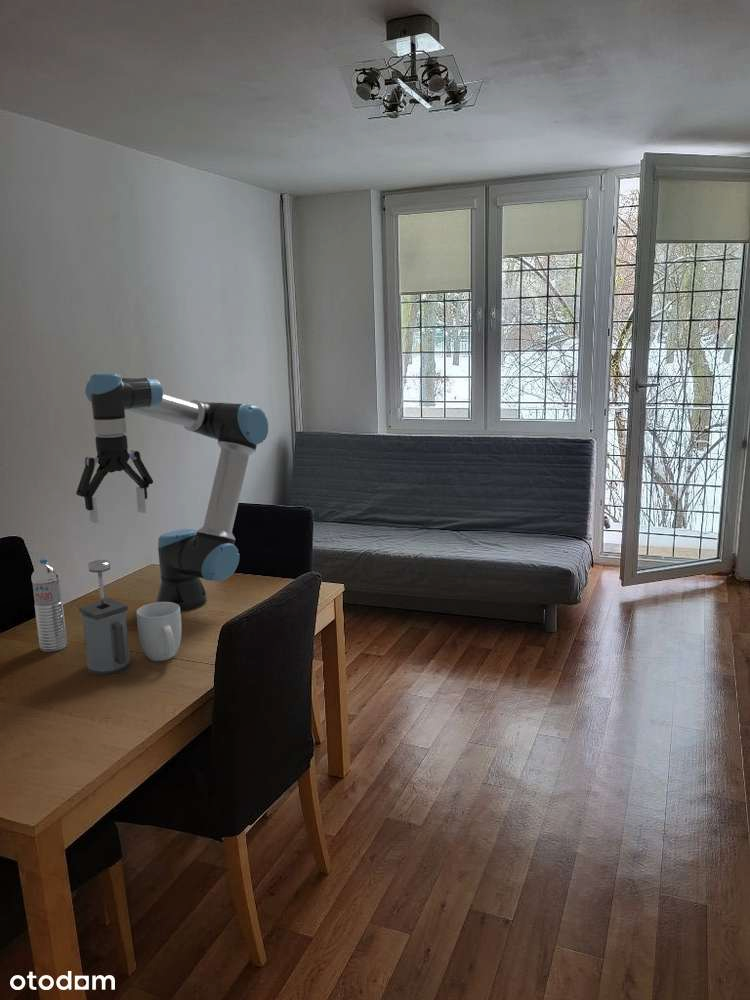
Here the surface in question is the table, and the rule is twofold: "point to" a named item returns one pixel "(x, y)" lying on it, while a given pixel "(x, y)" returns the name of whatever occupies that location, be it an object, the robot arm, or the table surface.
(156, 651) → the mug
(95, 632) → the carafe
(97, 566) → the plunger
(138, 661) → the table surface
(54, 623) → the water bottle
